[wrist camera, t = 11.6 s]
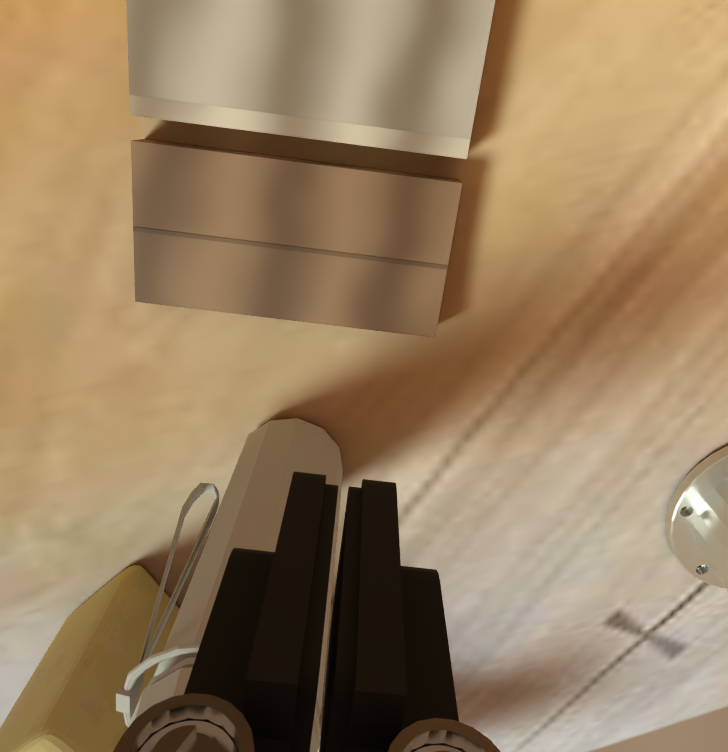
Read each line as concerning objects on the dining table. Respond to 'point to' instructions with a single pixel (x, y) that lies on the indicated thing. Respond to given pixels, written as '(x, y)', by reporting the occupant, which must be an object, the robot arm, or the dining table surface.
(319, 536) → the robot arm
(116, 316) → the dining table surface
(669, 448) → the dining table surface
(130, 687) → the water bottle
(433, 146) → the board
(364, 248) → the laid board
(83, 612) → the cheese
